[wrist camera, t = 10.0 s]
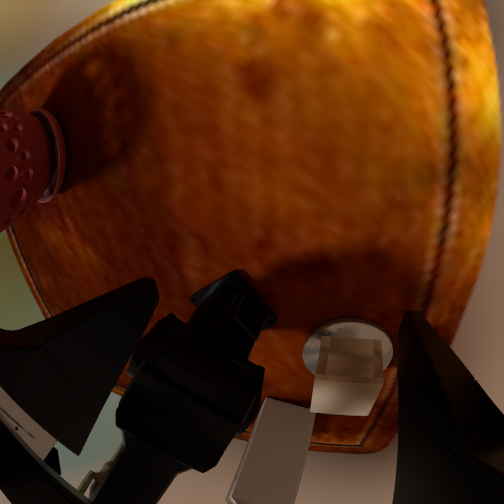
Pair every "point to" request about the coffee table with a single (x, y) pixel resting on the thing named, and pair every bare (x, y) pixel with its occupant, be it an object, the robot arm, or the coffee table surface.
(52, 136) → the plant pot
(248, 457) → the milk carton
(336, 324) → the post stand
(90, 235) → the coffee table surface
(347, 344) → the beige wooden cube
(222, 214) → the coffee table surface
